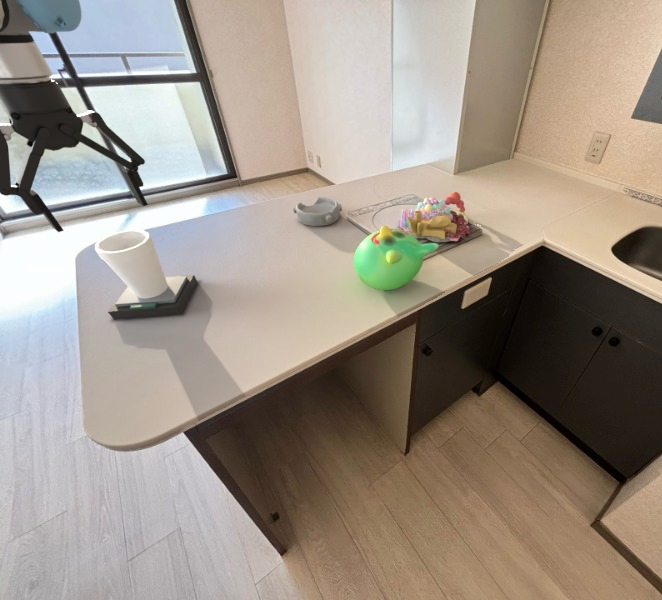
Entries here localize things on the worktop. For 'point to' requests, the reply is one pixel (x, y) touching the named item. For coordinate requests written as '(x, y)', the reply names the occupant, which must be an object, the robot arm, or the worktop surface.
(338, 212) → the dish
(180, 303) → the scale
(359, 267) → the toy bird
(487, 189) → the worktop surface
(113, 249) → the foam cup
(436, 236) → the candy landscape model
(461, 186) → the worktop surface
